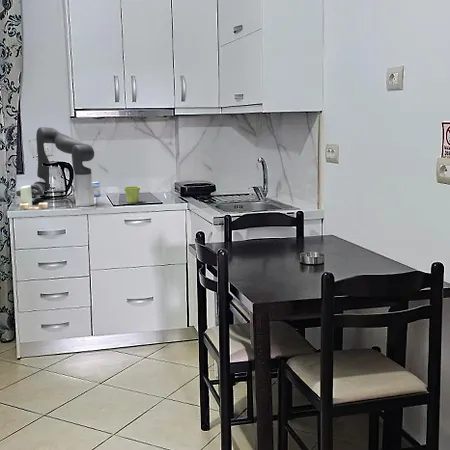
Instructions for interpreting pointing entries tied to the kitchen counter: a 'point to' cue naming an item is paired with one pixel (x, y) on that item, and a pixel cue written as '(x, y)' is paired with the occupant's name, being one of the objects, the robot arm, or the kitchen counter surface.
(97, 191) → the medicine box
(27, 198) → the tall mint green pillar
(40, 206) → the slot board
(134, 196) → the plant pot
